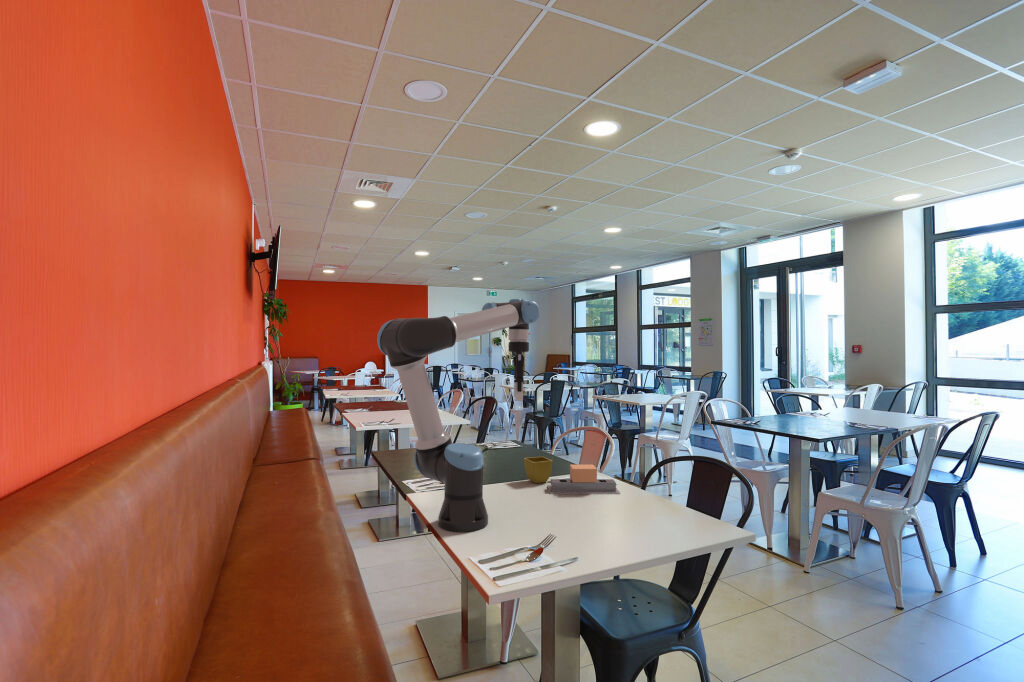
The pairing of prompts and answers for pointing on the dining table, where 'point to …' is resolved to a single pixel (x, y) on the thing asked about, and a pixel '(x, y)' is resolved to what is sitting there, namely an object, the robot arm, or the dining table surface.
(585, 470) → the orange tapered block
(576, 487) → the rail
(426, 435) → the robot arm
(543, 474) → the flower pot
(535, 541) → the dining table surface
